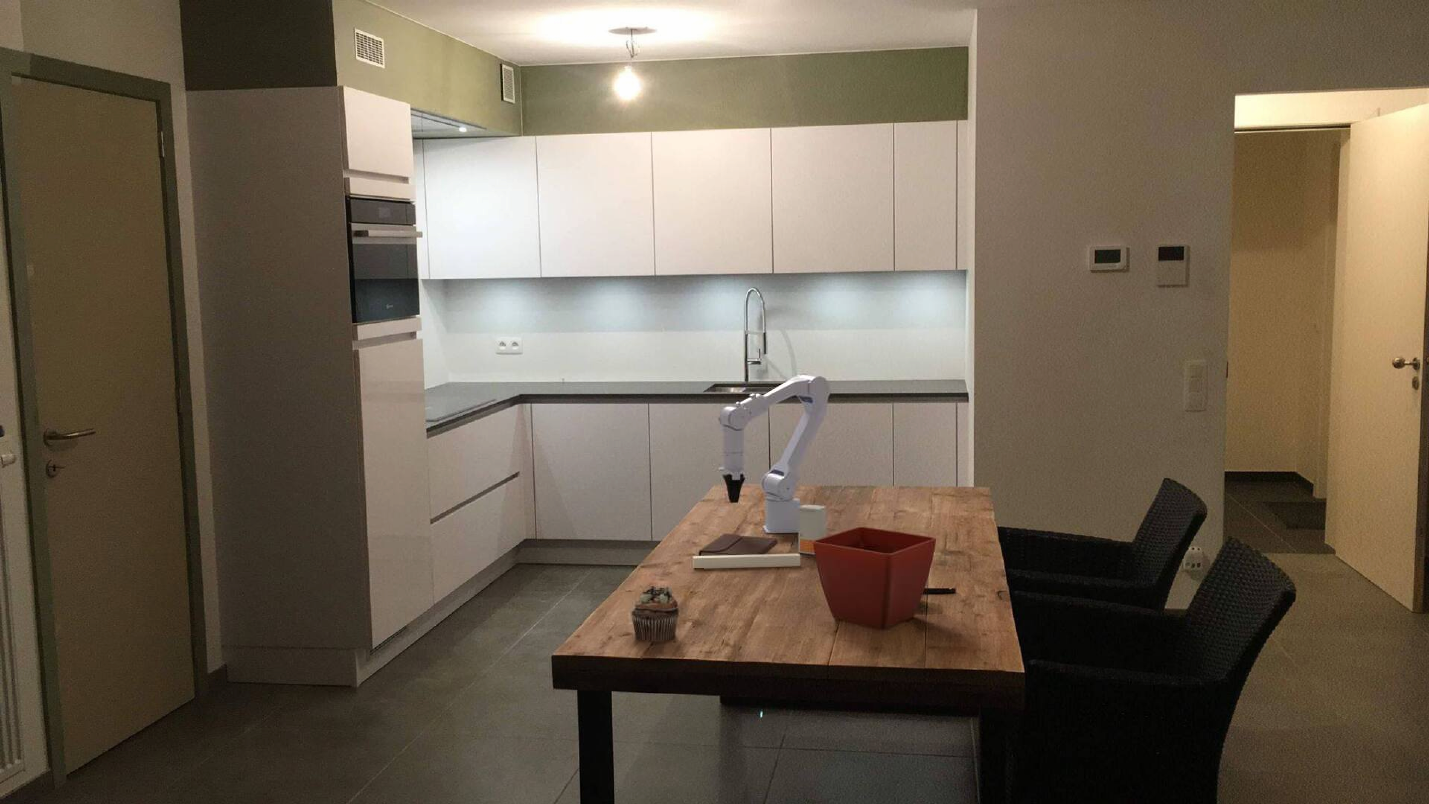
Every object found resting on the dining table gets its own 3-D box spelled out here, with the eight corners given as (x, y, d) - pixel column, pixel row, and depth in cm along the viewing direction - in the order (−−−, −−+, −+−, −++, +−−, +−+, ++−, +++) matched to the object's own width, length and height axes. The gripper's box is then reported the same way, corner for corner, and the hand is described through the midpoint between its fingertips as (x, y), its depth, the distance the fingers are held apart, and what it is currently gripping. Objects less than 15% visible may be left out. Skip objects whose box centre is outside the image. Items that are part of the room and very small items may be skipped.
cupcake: (678, 628, 254) (678, 580, 253) (679, 643, 245) (678, 593, 243) (631, 629, 254) (631, 581, 253) (630, 644, 244) (629, 594, 243)
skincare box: (797, 553, 316) (797, 506, 315) (804, 549, 320) (804, 503, 319) (819, 555, 314) (820, 509, 312) (826, 552, 317) (826, 506, 316)
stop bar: (798, 564, 306) (798, 553, 305) (800, 566, 304) (800, 555, 303) (693, 566, 303) (692, 556, 303) (693, 568, 301) (693, 558, 301)
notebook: (777, 544, 328) (777, 536, 328) (755, 562, 310) (755, 554, 309) (723, 540, 333) (723, 532, 333) (698, 557, 315) (698, 549, 314)
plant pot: (860, 600, 274) (860, 524, 272) (937, 615, 262) (938, 537, 260) (810, 620, 259) (810, 540, 257) (889, 637, 247) (890, 554, 245)
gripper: (716, 447, 340) (716, 496, 341) (720, 456, 325) (721, 507, 327) (742, 447, 340) (742, 496, 342) (747, 455, 326) (747, 506, 328)
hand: (733, 501), depth 335 cm, fingers closed
